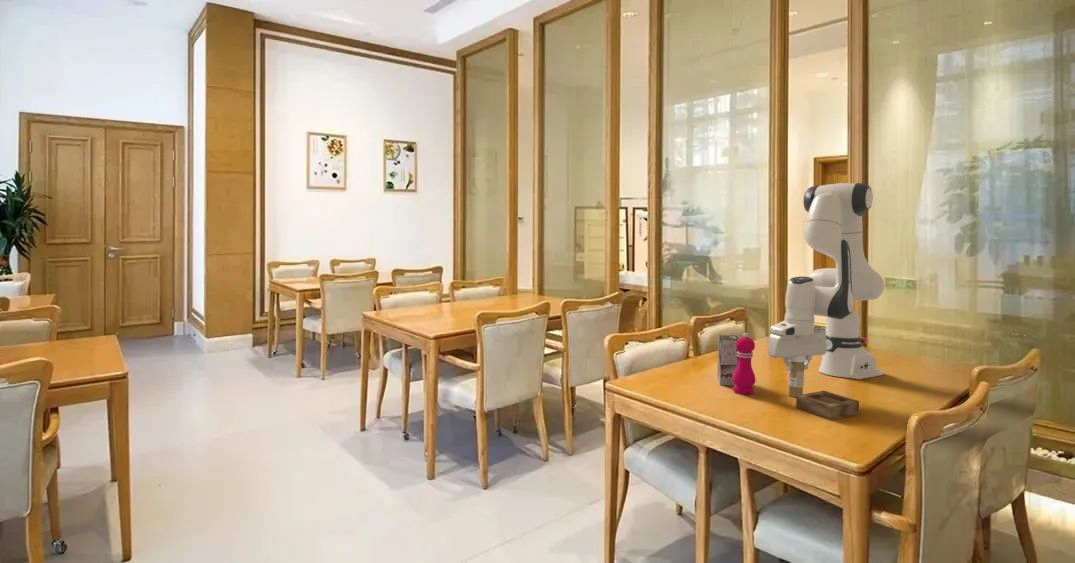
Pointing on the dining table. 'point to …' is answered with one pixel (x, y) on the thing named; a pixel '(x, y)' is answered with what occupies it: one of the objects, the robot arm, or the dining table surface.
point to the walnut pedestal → (827, 405)
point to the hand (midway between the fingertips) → (796, 369)
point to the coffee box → (727, 359)
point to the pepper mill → (744, 366)
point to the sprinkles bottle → (796, 376)
